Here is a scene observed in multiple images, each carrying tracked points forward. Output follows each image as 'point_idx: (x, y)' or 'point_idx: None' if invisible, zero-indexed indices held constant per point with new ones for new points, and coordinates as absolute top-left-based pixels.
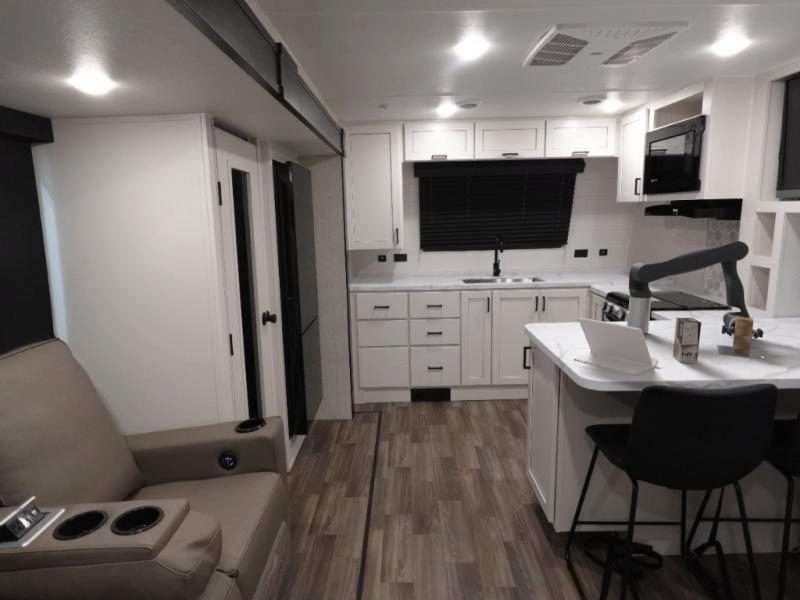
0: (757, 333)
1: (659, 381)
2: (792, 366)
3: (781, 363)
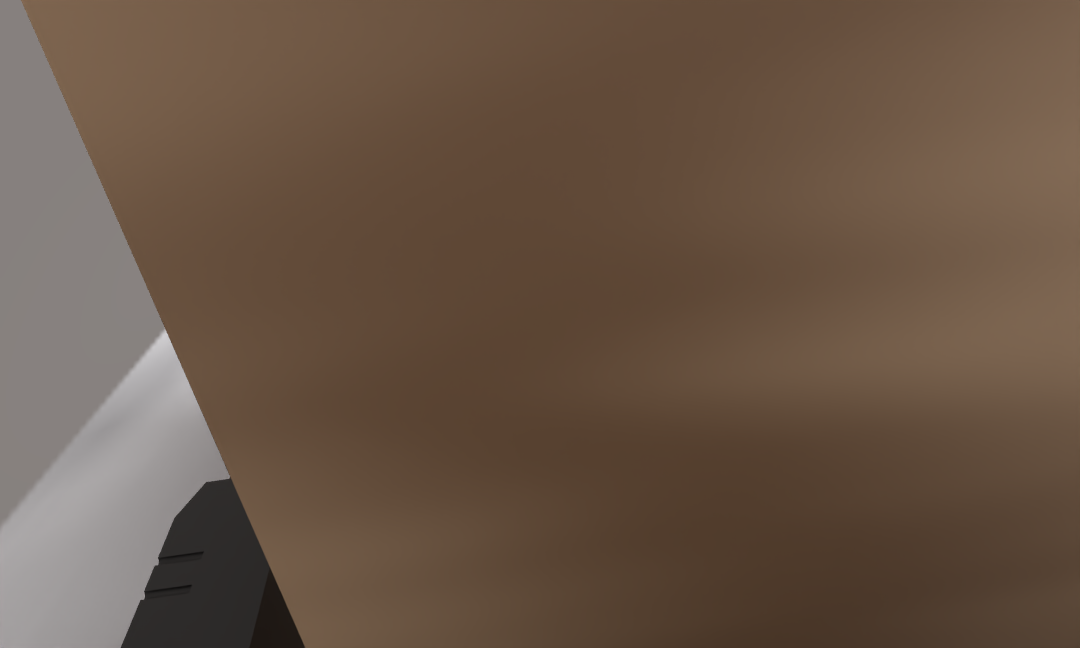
0: (166, 630)
1: None
2: (60, 466)
3: (131, 518)
